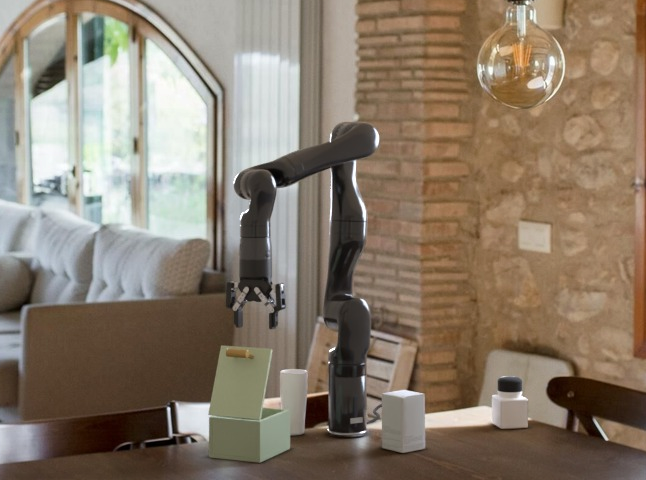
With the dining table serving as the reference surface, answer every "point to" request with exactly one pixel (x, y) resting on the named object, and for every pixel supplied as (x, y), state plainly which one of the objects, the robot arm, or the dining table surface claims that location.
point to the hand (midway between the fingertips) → (255, 328)
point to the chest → (250, 436)
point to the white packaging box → (403, 421)
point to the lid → (240, 382)
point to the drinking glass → (294, 397)
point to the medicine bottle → (509, 404)
